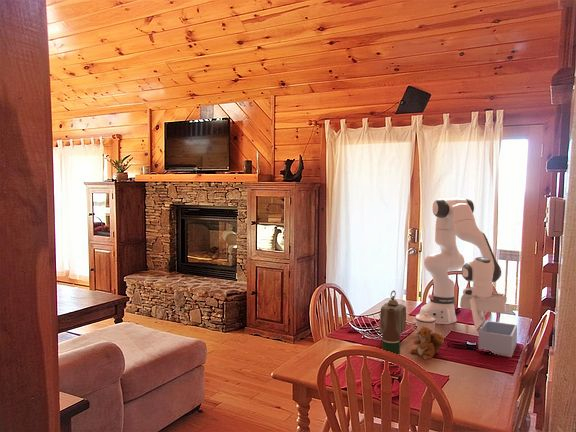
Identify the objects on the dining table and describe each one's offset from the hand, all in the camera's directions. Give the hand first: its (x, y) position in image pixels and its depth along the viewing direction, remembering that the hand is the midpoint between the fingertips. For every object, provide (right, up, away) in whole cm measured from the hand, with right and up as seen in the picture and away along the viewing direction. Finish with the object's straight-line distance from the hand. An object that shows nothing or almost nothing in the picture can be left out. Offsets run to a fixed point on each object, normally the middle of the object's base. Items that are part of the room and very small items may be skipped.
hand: (482, 319), depth 220 cm
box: (+6, -13, -3) cm, 14 cm away
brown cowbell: (-41, -12, +9) cm, 44 cm away
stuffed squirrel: (-30, -14, -11) cm, 35 cm away
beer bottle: (-49, -14, -22) cm, 56 cm away
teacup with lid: (-24, -12, +15) cm, 31 cm away
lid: (-1, +4, +1) cm, 4 cm away
